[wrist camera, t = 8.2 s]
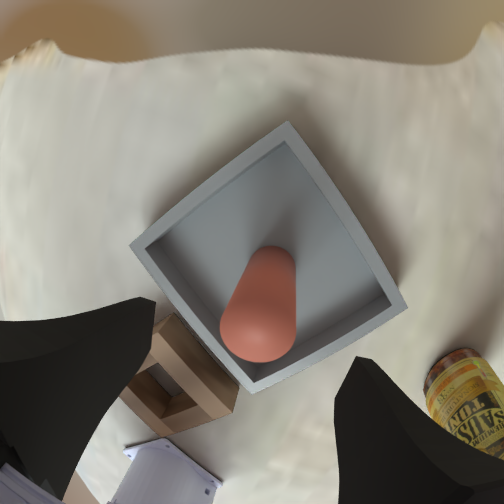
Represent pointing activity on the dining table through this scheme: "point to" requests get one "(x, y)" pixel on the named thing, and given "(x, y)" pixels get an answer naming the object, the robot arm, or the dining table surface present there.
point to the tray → (271, 234)
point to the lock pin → (262, 308)
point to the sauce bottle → (468, 400)
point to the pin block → (179, 383)
